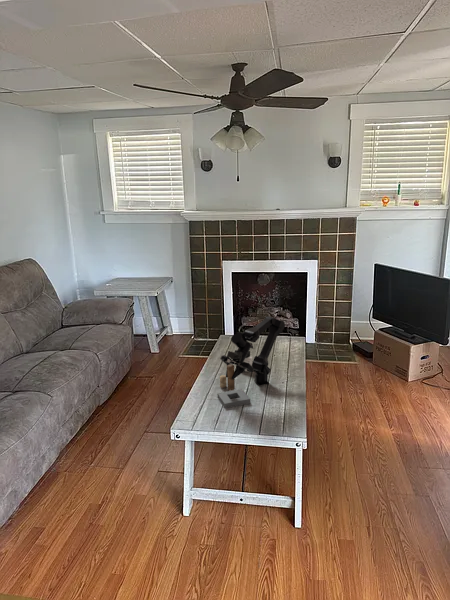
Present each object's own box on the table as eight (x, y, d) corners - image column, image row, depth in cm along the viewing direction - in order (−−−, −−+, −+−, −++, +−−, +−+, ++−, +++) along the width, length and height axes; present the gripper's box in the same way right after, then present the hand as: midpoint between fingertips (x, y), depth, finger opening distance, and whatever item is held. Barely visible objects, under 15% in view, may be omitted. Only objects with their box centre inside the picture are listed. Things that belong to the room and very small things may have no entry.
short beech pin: (225, 384, 239) (225, 374, 238) (227, 387, 236) (227, 377, 234) (219, 385, 238) (219, 375, 237) (221, 388, 235) (221, 378, 233)
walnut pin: (231, 386, 223) (231, 363, 219) (236, 388, 220) (235, 365, 217) (226, 388, 221) (225, 365, 217) (230, 391, 218) (230, 367, 214)
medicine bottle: (252, 367, 261) (252, 349, 258) (249, 372, 255) (249, 353, 251) (241, 366, 263) (240, 348, 260) (238, 370, 256) (238, 352, 253)
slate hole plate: (242, 392, 229) (241, 388, 229) (250, 403, 218) (250, 398, 218) (217, 397, 225) (217, 393, 224) (224, 408, 214) (224, 403, 213)
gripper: (221, 340, 223) (208, 366, 218) (249, 349, 211) (235, 376, 206) (231, 350, 231) (218, 375, 226) (259, 358, 219) (246, 385, 214)
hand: (229, 378), depth 218 cm, fingers closed on walnut pin, 4 cm apart
